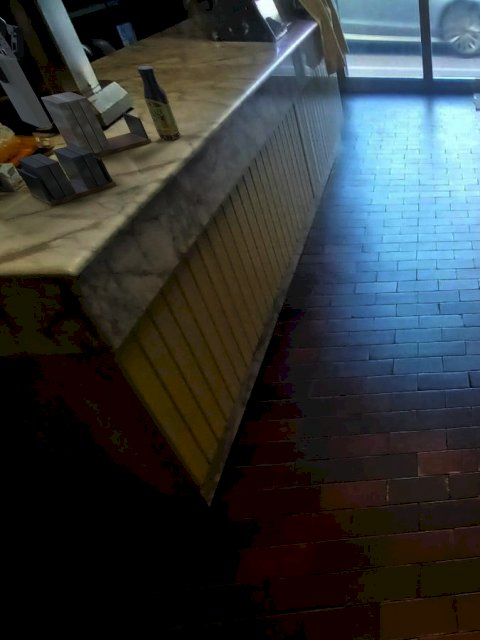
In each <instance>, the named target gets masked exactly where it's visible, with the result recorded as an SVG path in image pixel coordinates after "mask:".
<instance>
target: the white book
mask: <svg viewBox="0 0 480 640" xmlns="http://www.w3.org/2000/svg"><path fill="white" fill-rule="evenodd" d="M18 63H19V61H18V62H17V61H16V59H15V58H12V57H9V56H6V55H3V53H0V67H1V68H2V70H3V72H4V74H5V75H6V77H7V79H8V81H9V83H3V82H2V81H0V85H1V87H2V88H3V90H4V92H5V94H6V95H7V97H8V99H9V100H10V102H11V104H12V105H13V107H14V109H15V110H16V112H17V114H18V116H19V118H20V120H21V121H22V122H25V123H27V124H30V125H32V126H34V127H37V128H39V129H46V128H50V127H53V125H52V123H51V121H50V119H49V117H48V115H47V113H46V112H45V110H44V108H43V107H42V104H41V102H40V101H39V99H38V97H37V95H36V93H35V92H34V90H33V88H32V86H31V84H30V83H29V80H28V79H27V77H26V75H24V74H25V72H24V71H23V69H22V67H21V65H20V63H19V64H18ZM19 65H20V66H19ZM20 67H21V68H20ZM21 69H22V70H21ZM22 71H23V72H24V73H23V72H22Z"/></svg>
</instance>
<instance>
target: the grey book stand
mask: <svg viewBox="0 0 480 640" xmlns="http://www.w3.org/2000/svg"><path fill="white" fill-rule="evenodd" d="M40 98H41V100H42V102H43V104H44V106H45V109H46V110H47V112H48V113H49V115H50V117H51V120H52V121H53V123H54V124H55V126H56V128H57V130H58V132H59V134H60V136H61V138H62V140H63V141H64V143H65V144H66V146H70V145H75V146H78V147H80V148H82V149H85V150H87V151H90V152H92V154H93V155H94V156H96V157H98V158H101V157H105V156H108V155H111V154H115V153H118V152H121V151H125V150H129V149H132V148H136V147H139V146H142V145H146V144H150V143H152V140H151V138H150V137H149V135H148V133H147V131H146V129H145V126H144V124H143V121H142V119H141V118H140V117H138V116H135V115H132V114H130V113H126V112H124V111H123V112H121V115H122V117H123V119H124V121H125V123H126V126H127V128H128V130H129V132H127V133H123V134H119V135H116V136H112V137H108V138H107V136H106V134H105V132H104V130H103V128H102V126H101V124H100V122H99V119H98V117H97V115H96V113H95V111H94V109H93V108H92V105H91V104H90V101H89V99H88V97H86V96H83V95H80V94H78V93H74V92H72V91H67V92H62V93H61V92H60V93H56V94H52V95H47V96H42V97H40Z"/></svg>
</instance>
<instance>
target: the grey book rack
mask: <svg viewBox="0 0 480 640" xmlns="http://www.w3.org/2000/svg"><path fill="white" fill-rule="evenodd" d="M52 151H53V154H54V155H55V157H56V158H57V160H55V159H54V158H52V157H49V156H46V155H44V154H42V153H36V154H32V155H29V156H24V157H21V158H17V161H18V163H19V164H20V166H21V167H22V168H21V169H20V168H16V171H17V173H18V174H19V176H20V177H21V179H22V180H23V182H24V184H25V186H26V187H27V189H28V190H29V194H30V196H31V197H33V198H34V199H37V200H39V201H41V202H43V203H45V204H47V205H49V206H50V207H54V206H57V205H60V204H63V203H66V202H70V201H73V200H75V199H79V198H82V197H85V196H88V195H90V194H94V193H97V192H100V191H103V190H107V189H109V188H112V187H115V186H117V184H116V182H115V181H114V180H113V178H112V176H111V175H110V172H109V170H108V168H107V167H106V164H105V162H104V161H103V159H102V158H101V157H96V156H94V155H93V154H92V152H90V151H87V150H85V149H82V148H80V147H78V146H75V145H70V146H67V145H66V146H63V147H58V148H55V149H52Z"/></svg>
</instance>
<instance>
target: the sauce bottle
mask: <svg viewBox="0 0 480 640" xmlns="http://www.w3.org/2000/svg"><path fill="white" fill-rule="evenodd" d="M136 69H137V72H138V74H139V75H140V79H141V80H142V84H143V97H144V98H143V99H144V101H145V104H146V106H147V110H148V112H149V115H150V117H151V120H152V123H153V125H154V128H155V131H156V132H157V134H158V137H159V138H160V139H161V140H165V141H173V140H177V139H179V138H180V137H181V132H180V128H179V125H178V123H177V119H176V117H175V114H174V112H173V109H172V106H171V103H170V101H169V99H168V96H167V93H166V91H165V89H163V88H162V86H160V84H159V82H158V80H157V77H156V75H155V70H154V67H153V66H151V65H141V66H137V68H136Z"/></svg>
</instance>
